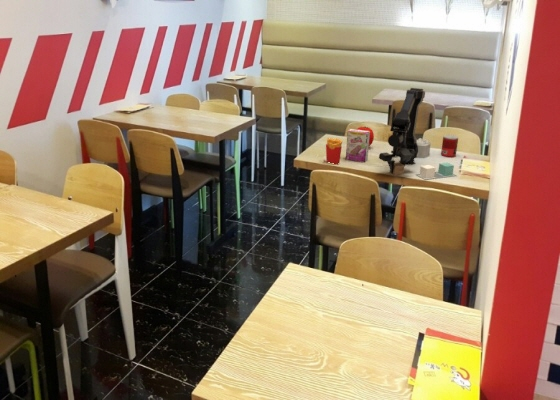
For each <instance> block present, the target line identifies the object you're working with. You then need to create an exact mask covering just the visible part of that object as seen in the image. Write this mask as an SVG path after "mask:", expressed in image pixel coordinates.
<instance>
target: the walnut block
mask: <svg viewBox="0 0 560 400" xmlns="http://www.w3.org/2000/svg"><path fill="white" fill-rule="evenodd" d="M389 173H391V174H393V175H395V176H396V175H404V173H405V167H404V165H403V164H401V163H400V162H395V163H394V169H393V173H392V172H391V170H390V169H389Z"/></svg>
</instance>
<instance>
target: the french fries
mask: <svg viewBox="0 0 560 400" xmlns="http://www.w3.org/2000/svg"><path fill="white" fill-rule="evenodd" d="M342 144H343V141H342V140H341V139H339V138H333V137H331V138H327V139H326V144H325V153H326V163H327V162H330V163H334V164H333V165H339V164H340V161H341V155H342ZM330 163H329V164H330ZM338 163H339V164H338Z"/></svg>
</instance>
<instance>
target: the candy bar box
mask: <svg viewBox="0 0 560 400" xmlns="http://www.w3.org/2000/svg"><path fill="white" fill-rule="evenodd" d="M369 136H370V131H364V130H357V129H354V128H349V129H348V130H347V136H346V149H345V152H346V153H345V160H347V161H353V162H359V163H366V162H367V161H369V160H368V157H369V148H370V146H369Z"/></svg>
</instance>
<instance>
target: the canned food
mask: <svg viewBox="0 0 560 400" xmlns="http://www.w3.org/2000/svg"><path fill="white" fill-rule="evenodd" d="M458 143H459V136H458V135H455V134H444V135H443V136H442V144H441V153H440V154H441V156H442V157H445V158H455V157H456V156H457V150H458Z"/></svg>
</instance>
